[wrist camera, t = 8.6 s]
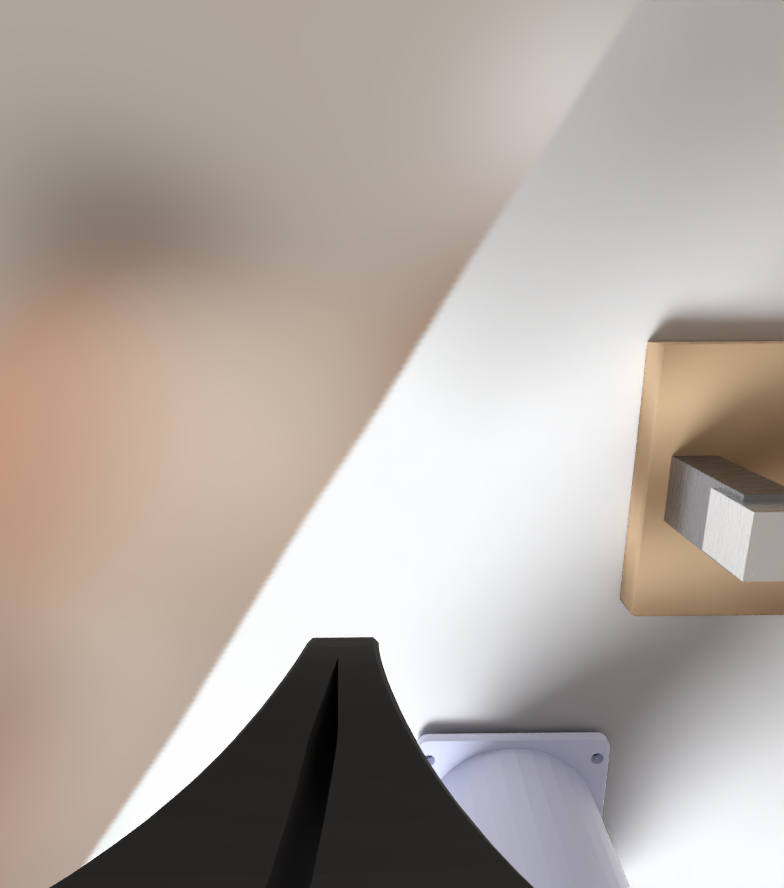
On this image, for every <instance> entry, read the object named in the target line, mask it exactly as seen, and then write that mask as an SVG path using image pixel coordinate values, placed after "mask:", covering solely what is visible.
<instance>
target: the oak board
mask: <svg viewBox="0 0 784 888" xmlns="http://www.w3.org/2000/svg"><path fill="white" fill-rule="evenodd" d="M713 455H718V456H720V457H722V458H724V459H727V460H729V461H731V462H733V463H735V464H737V465H739V466H742V467H744V468H746V469H748V470H750V471H752V472H755V473H757V474H759V475H761V476H763V477H765V478H767V479H770V480H772V481H774V482H776V483H778V484H780V485H782V486H784V341H701V342H648V344H647V353H646V362H645V372H644V381H643V390H642V399H641V409H640V418H639V427H638V436H637V446H636V455H635V464H634V474H633V483H632V492H631V501H630V511H629V520H628V529H627V538H626V548H625V557H624V566H623V576H622V585H621V594H620V600H621V601H622V603H623V604H624V605H625V606H626V608H627V609H628V610H629V612H630V613H631V614H632V615H633V616H698V615H784V581H760V582H742V581H741V580H740V579H739V578H737V577H736V576H735V575H734V574H730V573H729V572H728V571H726V570H725V569H724V568H723V567H721V566H720V565H719V564H718V563H716V562H715V561H714V560H713V559H711V558H710V557H709V556H707V555H706V554H705V553H704V552H702V551H701V550H700V549H699V548H697V547H696V546H695V545H694V544H692V543H691V542H690V541H689V540H687V539H686V538H685V537H683V536H682V535H681V534H680V533H678V532H677V531H676V530H675V529H673V528H672V527H671V526H670V525H668V524H667V523H666V522H665V521H664V514H665V506H666V498H667V489H668V481H669V473H670V465H671V457H672V456H713Z"/></svg>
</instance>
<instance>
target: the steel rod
mask: <svg viewBox="0 0 784 888" xmlns="http://www.w3.org/2000/svg"><path fill="white" fill-rule="evenodd" d="M664 521H665V522H666V523H667V524H668V525H670V526H671V527H672V528H673V529H675V530H676V531H677V532H678V533H680V534H681V535H682V536H683V537H685V538H686V539H687V540H689V541H690V542H691V543H692V544H694V545H695V546H696V547H697V548H699V549H700V550H701V551H702V552H704V553H705V554H706V555H707V556H709V557H710V558H711V559H713V560H714V561H715V562H716V563H718V564H719V565H720V566H721V567H723V568H724V569H725V570H726V571H728V572H729V573H730V574H734V575H735V576H736V577H737V578H739V579H740V580H741V581H742V582H760V581H784V486H782V485H780V484H778V483H776V482H774V481H772V480H770V479H767V478H765V477H763V476H761V475H759V474H757V473H755V472H752V471H750V470H748V469H746V468H744V467H742V466H739V465H737V464H735V463H733V462H731V461H729V460H727V459H724V458H722V457H720V456H718V455H713V456H672V457H671V465H670V473H669V481H668V489H667V498H666V506H665V514H664Z"/></svg>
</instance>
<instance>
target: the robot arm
mask: <svg viewBox="0 0 784 888" xmlns="http://www.w3.org/2000/svg"><path fill="white" fill-rule="evenodd" d="M597 753H599V754H598V755H597V756H593V755H594V754H597ZM609 753H610V744H609V742H608V740H607V738H606V736H605V735H604V734H602V733H599V732H564V733H470V734H425V735H422V736H421V737H419V739H418V740H417V741H416V739H415V738H414V736H413V734H412V732H411V730H410V728H409V726H408V725H407V723H406V721H405V719H404V717H403V715H402V713H401V711H400V708H399V706H398V704H397V702H396V699H395V697H394V695H393V692H392V690H391V688H390V685H389V683H388V680H387V677H386V674H385V671H384V668H383V665H382V662H381V658H380V653H379V643H378V642H377V641H376V640H375V639H374V638H373V637H360V638H312V639H311V640H310V641H309V642H308V643H307V645H306V646H305V648H304V650H303V651H302V653H301V654H300V656H299V657H298V659H297V661H296V662H295V663H294V665H293V666H292V668H291V669H290V671H289V672H288V673H287V675H286V676H285V678H284V679H283V681H282V682H281V683H280V684H279V686H278V687H277V688H276V690H275V691H274V692H273V694H272V695H271V696H270V697H269V699H268V700H267V701H266V703H265V704H264V705H263V706H262V708H261V709H260V710H259V711H258V713H257V714H256V715H255V716H254V717H253V718H252V719H251V721H250V722H249V723H248V724H247V725H246V726H245V728H244V729H243V730H242V731H241V732H240V733H239V734H238V736H237V737H236V738H235V739H234V740H233V741H232V742H231V743H230V744H229V745H228V747H227V748H226V749H225V750H224V751H223V752H222V753H221V754H220V755H219V756H218V757H217V758H216V759H215V760H214V761H213V762H212V763H211V764H210V765H209V766H208V767H207V768H206V769H205V770H204V771H203V772H202V773H201V774H200V775H199V776H198V777H196V778H195V779H194V780H193V781H192V782H191V783H190V784H189V785H188V786H186V787H185V788H184V789H183V790H182V791H181V792H180V793H179V794H177V795H176V796H175V797H174V798H173V799H172V800H170V801H169V802H168V803H167V804H166V805H164V806H163V807H162V808H161V809H160V810H158V811H157V812H156V813H155V814H154V815H152V816H151V817H150V818H149V819H148V820H146V821H145V822H144V823H142V824H141V825H140V826H139V827H137V828H136V829H135V830H133V831H132V832H131V833H129V834H128V835H127V836H125V837H124V838H123V839H121V840H120V841H118V842H117V843H116V844H114V845H113V846H111V847H110V848H109V849H107V850H106V851H104V852H103V853H102V854H100V855H99V856H97V857H96V858H94V859H93V860H92V861H90V862H89V863H87V864H86V865H84V866H83V867H81V868H80V869H78V870H77V871H75V872H74V873H72V874H71V875H69V876H68V877H66V878H64V879H63V880H61V881H60V882H58V883H56V884H55V885H53V886H52V887H50V888H630V886H629V884H628V881H627V879H626V876H625V874H624V871H623V869H622V867H621V864H620V862H619V859H618V857H617V855H616V852H615V850H614V847H613V845H612V843H611V840H610V838H609V835H608V833H607V830H606V828H605V826H604V823H603V821H602V816H603V807H604V798H605V789H606V780H607V771H608V762H609ZM427 755H430V756H432V757H431V758H426V756H427Z"/></svg>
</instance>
